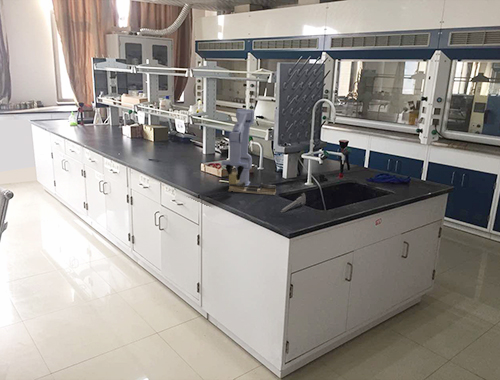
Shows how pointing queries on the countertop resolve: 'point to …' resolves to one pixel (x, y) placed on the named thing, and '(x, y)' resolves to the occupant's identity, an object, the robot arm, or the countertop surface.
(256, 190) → the mechanism
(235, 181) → the coupler
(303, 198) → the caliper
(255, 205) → the countertop surface
